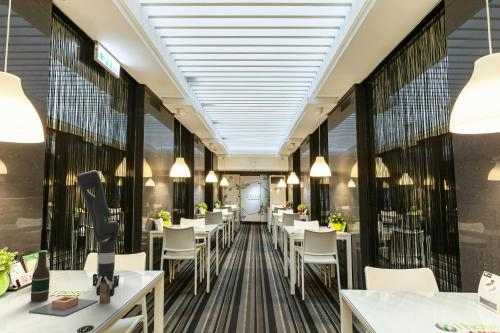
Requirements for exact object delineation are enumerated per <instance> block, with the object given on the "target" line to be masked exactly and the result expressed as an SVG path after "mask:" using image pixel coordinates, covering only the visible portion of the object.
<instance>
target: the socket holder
mask: <svg viewBox="0 0 500 333" xmlns="http://www.w3.org/2000/svg"><path fill="white" fill-rule="evenodd" d="M97 303H99V300H93V299H87V298H85V299H83V298H79V296H72V295H71V296H69V295H64V296H62V297H59V298H56V299H53V300H52V301H51V302H50V303H47V304H44V305H41V306H39V307H35V308H34V309H31V310H29V311H28V313H31V314H38V315H39V314H40V315H49V316H55V315H56V316H57V317H64V316H65V317H67V316H70V315H71V314H74V313H76V312H78V311H80V310H83V309H86V308H88V307H89V306H91V305H92V306H93V305H94V304H97Z"/></svg>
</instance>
